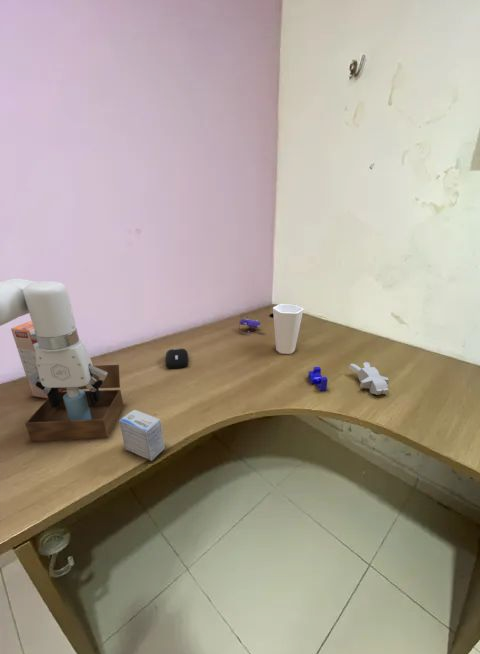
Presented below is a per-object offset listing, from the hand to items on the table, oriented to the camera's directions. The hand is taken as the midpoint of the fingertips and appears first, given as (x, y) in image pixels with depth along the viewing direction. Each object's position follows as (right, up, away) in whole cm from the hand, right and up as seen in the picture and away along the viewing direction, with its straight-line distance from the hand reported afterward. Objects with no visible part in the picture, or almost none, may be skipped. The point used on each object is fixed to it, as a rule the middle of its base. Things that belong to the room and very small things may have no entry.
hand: (76, 403), depth 76 cm
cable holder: (+62, +2, +23) cm, 67 cm away
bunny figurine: (+79, +1, +25) cm, 83 cm away
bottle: (0, -5, +2) cm, 6 cm away
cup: (+53, +12, +45) cm, 71 cm away
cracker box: (-15, +2, +17) cm, 23 cm away
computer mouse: (+15, +8, +34) cm, 38 cm away
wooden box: (0, -5, +2) cm, 6 cm away
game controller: (+39, +20, +61) cm, 75 cm away
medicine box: (+19, -10, -5) cm, 22 cm away
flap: (-1, +6, +5) cm, 8 cm away
